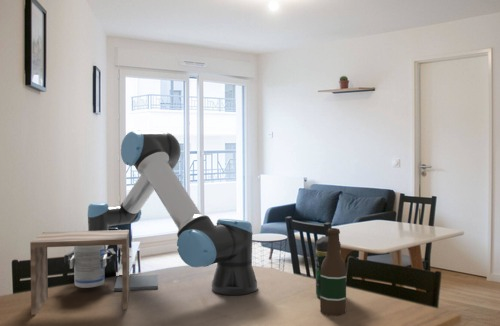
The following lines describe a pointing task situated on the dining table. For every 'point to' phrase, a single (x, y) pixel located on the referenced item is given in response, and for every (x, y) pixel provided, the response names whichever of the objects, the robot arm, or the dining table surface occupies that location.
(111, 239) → the shelf
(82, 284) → the supplement tub
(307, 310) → the dining table surface
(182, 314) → the dining table surface
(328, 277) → the beer bottle
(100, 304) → the dining table surface
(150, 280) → the mat
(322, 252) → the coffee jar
